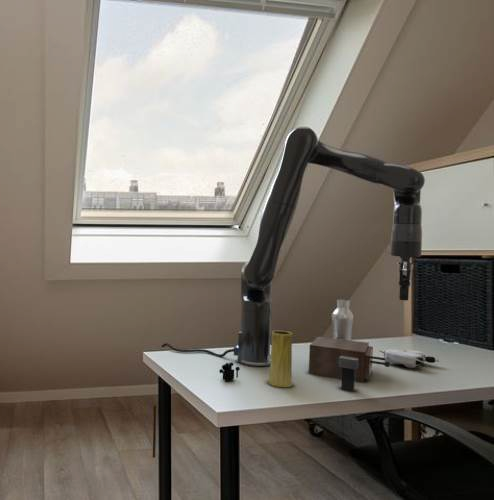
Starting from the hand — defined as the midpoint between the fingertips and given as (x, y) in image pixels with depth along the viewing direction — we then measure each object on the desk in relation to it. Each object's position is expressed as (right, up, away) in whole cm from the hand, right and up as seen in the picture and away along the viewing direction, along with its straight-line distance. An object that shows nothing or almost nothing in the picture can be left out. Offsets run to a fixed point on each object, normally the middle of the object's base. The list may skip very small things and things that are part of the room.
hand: (403, 299), depth 137 cm
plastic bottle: (-9, -22, +20) cm, 31 cm away
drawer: (-12, -22, +4) cm, 25 cm away
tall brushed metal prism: (-21, -23, -10) cm, 33 cm away
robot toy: (+12, -23, +17) cm, 31 cm away
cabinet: (-16, -22, +7) cm, 28 cm away
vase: (-38, -23, -7) cm, 45 cm away
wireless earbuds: (-52, -22, -4) cm, 56 cm away
